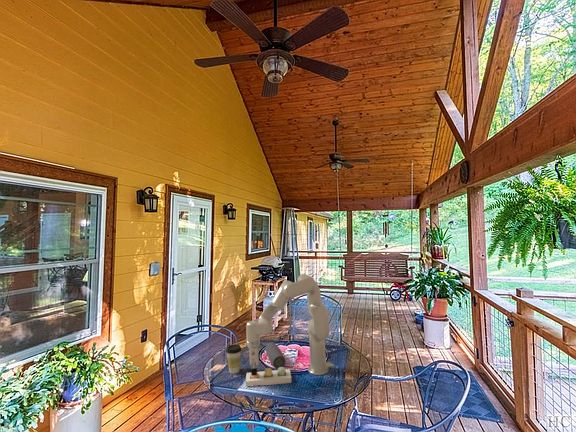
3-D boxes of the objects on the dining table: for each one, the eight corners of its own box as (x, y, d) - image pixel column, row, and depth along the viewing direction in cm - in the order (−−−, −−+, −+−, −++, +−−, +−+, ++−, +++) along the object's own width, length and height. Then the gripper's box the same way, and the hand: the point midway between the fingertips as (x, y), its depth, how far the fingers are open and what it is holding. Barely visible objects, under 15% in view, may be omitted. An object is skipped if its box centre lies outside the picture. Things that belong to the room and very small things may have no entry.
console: (289, 373, 183) (289, 369, 183) (291, 382, 173) (291, 377, 173) (246, 377, 181) (246, 372, 181) (245, 386, 171) (245, 381, 171)
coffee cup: (239, 375, 184) (238, 350, 184) (224, 374, 186) (223, 350, 186) (244, 367, 193) (243, 344, 194) (230, 367, 195) (229, 343, 196)
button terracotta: (258, 377, 179) (258, 372, 179) (258, 381, 174) (258, 376, 174) (251, 378, 178) (250, 372, 178) (250, 381, 174) (250, 376, 174)
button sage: (285, 371, 180) (285, 366, 180) (285, 375, 176) (285, 370, 176) (278, 372, 180) (277, 367, 180) (278, 376, 175) (278, 370, 176)
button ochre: (271, 372, 179) (271, 367, 180) (272, 376, 175) (272, 371, 175) (264, 373, 179) (264, 368, 179) (264, 377, 175) (264, 372, 175)
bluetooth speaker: (264, 357, 208) (264, 342, 208) (277, 355, 210) (277, 340, 210) (272, 372, 186) (271, 356, 186) (286, 370, 188) (286, 354, 188)
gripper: (259, 347, 170) (260, 380, 169) (259, 337, 184) (260, 367, 184) (246, 348, 169) (247, 381, 169) (247, 338, 184) (248, 369, 183)
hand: (254, 374), depth 176 cm, fingers closed
